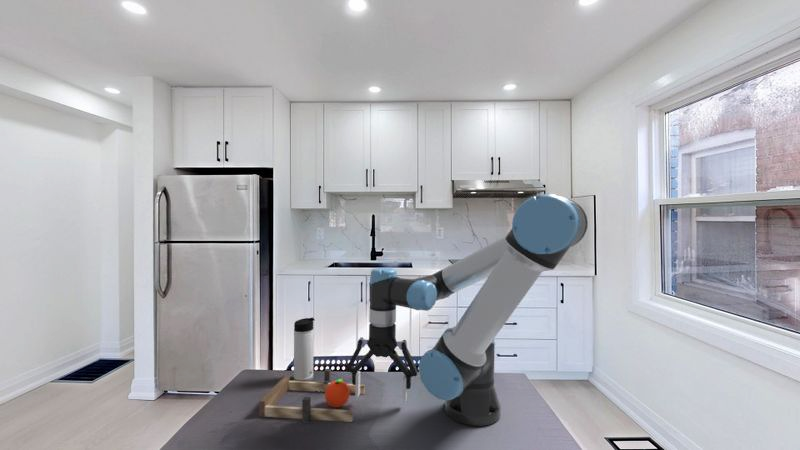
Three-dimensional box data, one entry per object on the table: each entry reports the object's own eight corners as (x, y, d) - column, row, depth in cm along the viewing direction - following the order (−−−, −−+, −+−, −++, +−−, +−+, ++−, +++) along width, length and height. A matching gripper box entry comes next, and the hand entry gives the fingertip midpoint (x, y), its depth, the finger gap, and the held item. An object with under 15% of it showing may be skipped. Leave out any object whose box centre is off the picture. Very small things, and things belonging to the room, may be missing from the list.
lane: (365, 389, 108) (365, 370, 108) (350, 425, 89) (350, 402, 89) (287, 385, 111) (287, 366, 111) (255, 419, 92) (255, 397, 92)
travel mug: (316, 380, 115) (316, 320, 115) (296, 385, 111) (296, 322, 112) (311, 373, 120) (311, 315, 120) (292, 377, 117) (292, 318, 117)
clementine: (334, 396, 104) (334, 372, 104) (355, 400, 102) (355, 376, 102) (320, 410, 97) (320, 384, 97) (342, 414, 94) (342, 388, 94)
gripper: (427, 321, 100) (425, 394, 101) (343, 317, 103) (342, 387, 104) (426, 329, 93) (424, 408, 93) (335, 324, 96) (334, 400, 96)
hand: (381, 397), depth 98 cm, fingers open, 13 cm apart
